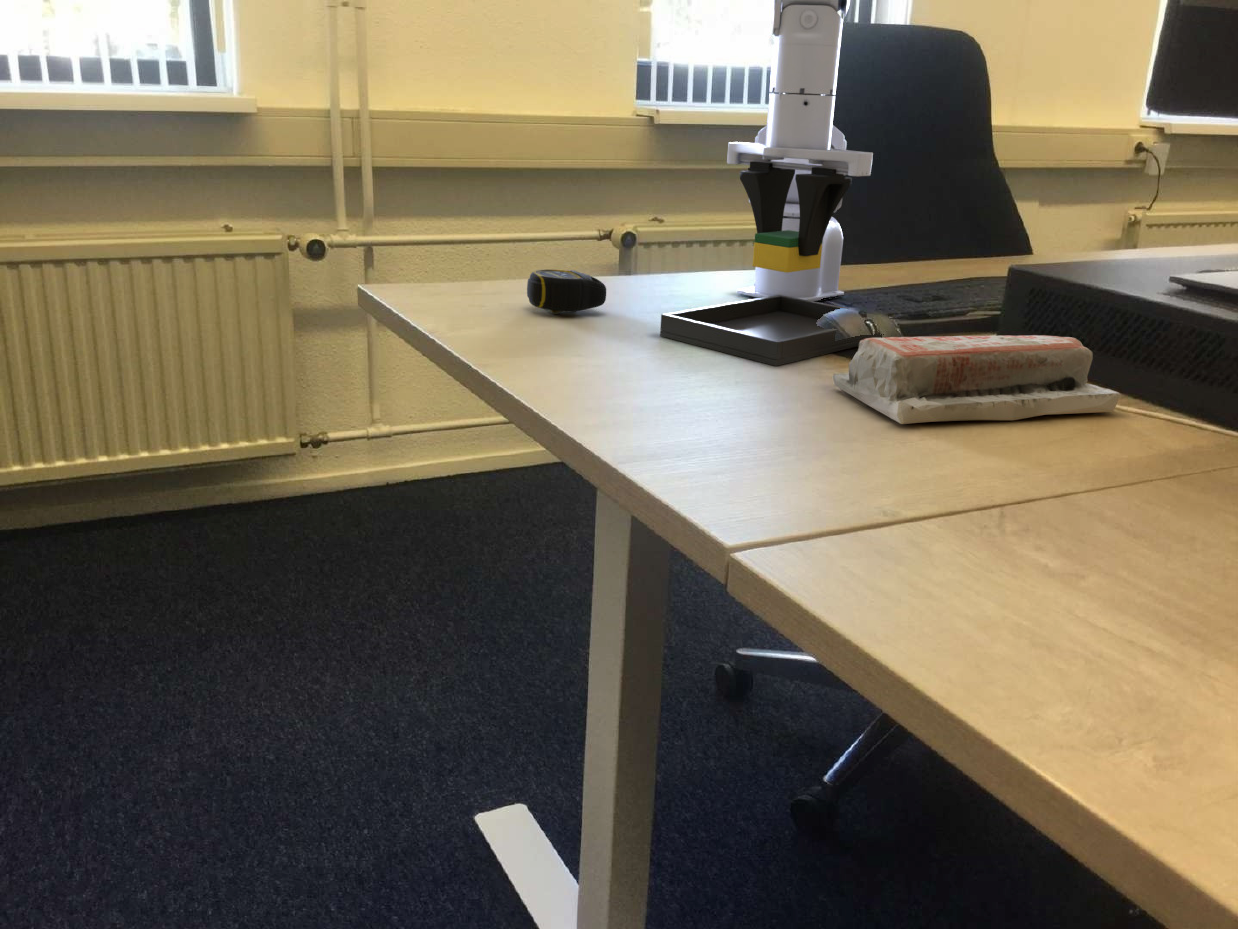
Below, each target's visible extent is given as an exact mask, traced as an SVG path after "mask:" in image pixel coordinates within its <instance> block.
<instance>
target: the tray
mask: <svg viewBox="0 0 1238 929" xmlns="http://www.w3.org/2000/svg"><path fill="white" fill-rule="evenodd" d="M840 308H845V307H844V306H839V305H834V304H828V303H823V302H818V301H809V300H804V299H799V298H794V297H789V296H784V295H775V296H769V297H763V298H757V297H755V298H750V299H745V300H739V301H733V302H726V303H721V304H716V305H710V306H709V305H708V306H703V307H698V308H691V309H684V310H679V311H673V312H666V313H661V314H660V331H659V337H663V338H666V339H671V340H674V341H678V342H682V343H686V344H689V345H693V346H697V347H701V348H705V349H709V350H713V351H717V352H720V353H724V354H728V355H733V356H736V357H739V358H744V359H747V360H751V361H755V362H758V363H762V364H767V365H771V366H774V367H778V366H781V365H782V366H783V365H786V364H789V363H794V362H799V361H802V360H807V359H811V358H815V357H821V356H824V355H828V354H832V353H836V352H840V351H845V350H848V349H853V348H857V347H859V343H860V340H864V339H866V338H881V337H882V334H881V335H879V334H874V335H873V334H872V335H860V336H855V337H851V338H847V339H842V340H838V341H835V334H836V331H837V329H834V328H832V329H824V328H822V327H820V326H817V324H816V322H817V320H818V319H820V318H821V317H822V316H823V314H825V313H828V312H830V311H834V310H835V309H840ZM889 318H890V319H893V320H894V317H893V316H889ZM883 335H884V334H883Z"/></svg>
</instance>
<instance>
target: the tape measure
mask: <svg viewBox="0 0 1238 929" xmlns="http://www.w3.org/2000/svg"><path fill="white" fill-rule="evenodd" d="M526 296H527V298H528V302H529V303H530V304H531V305H532V306H534V307H536V308H539V309H542V310H544V311H545V312H546V313H547V312H548V313H550V314H552V315H557V314H560V313H563V312H569V313H570V312H571V313H572V312H580V311H585V310H591V309H595V308H597V307H601V306H603V305H604V304H605V302H606V301H607V286H606V285H605V283H604V282H602V281H601V280H600V279H597V278H596V277H594V276H591V275H589V274H587V273H584V272H580V271H577V270H574V269H570V270H564V269H539V270H538V269H537V270H533V271H532V272H531V273H530V275H529V278H528V279H527V285H526Z"/></svg>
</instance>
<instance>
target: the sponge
mask: <svg viewBox="0 0 1238 929" xmlns="http://www.w3.org/2000/svg"><path fill="white" fill-rule="evenodd" d="M798 235H799V232H798V231H791V230H786V231H776V232H765V233H757V232H755V234H754V243H753V256H752V267H754V268H756V267H758V268H764V269H769V270H775V271H780V272H786V273H788V272H795V271H802V270H809V269H816V268H820V263H821V253H822V243H823V240H822V243H821V246H820V249H819V252H818V255H812V256H800V255H799V249H798Z"/></svg>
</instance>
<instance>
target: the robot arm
mask: <svg viewBox="0 0 1238 929" xmlns="http://www.w3.org/2000/svg"><path fill="white" fill-rule="evenodd" d="M850 5H851V0H771V6H772V18H773V19H772V33H771V34H772V37H773V39H774V44H773V45H772V54H771V56H772V58H771V68H770V69H771V70H770V79H769V80H770V83H769V95H768V105H767V106H768V107H767V117H766V125H765V126H763V127H762V128H761V129H760V130H759V131H758V132H757V135H756V136H755V137H754V142H743V141H739V142H738V141H733V142H731V141H729V142H728V144H727V156H726V158H727V159H726V164H728V165H746V166H749V167H748V168H747V170H740V171H739V180H740V182H741V184H742V186H743V189H744V190H745V193H746V195H747V198H748V202H749V204H750V206H751V210H752V214H753V219H754V223H755V229H756V233H765V232H776V231H786V230H791V231H798V232H799V235H798V249H799V255H800V256H812V255H818V252H819V249H820V246H821V243H822V240H823V243H822V253H821V263H820V268H816V269H809V270H802V271H795V272H788V273H786V272H780V271H775V270H769V269H764V268H758V267H754V268H755V270H754V282H753V286H749V287H742V288H737V289H736V293H737V294H739V295H744V296H748V297H753V298H763V297H769V296H775V295H784V296H789V297H794V298H799V299H804V300H809V301H814V302H818V301H822V300H821V299H823V298H826V297H830V296H837V295H845V292H844V291H842V290H839V281H840V273H841V265H842V256H843V255H842V254H843V247H844V246H843V245H844V236H843V235H844V234H843V231H842V228H841V225H840V223H839V221H838V220H837V219H836V218H835V217H833V215H834V213H836V212H837V210H839V209H840V208H842V204H843V197H844V196H845V195H846V193H847V192H848V191H849V189H850V187H851V186H852V180H853V178H852V177H870V176H871V174H872V173H871V172H872V165H873V155H874V153H873V152H869V151H859V150H858V151H857V150H849V149H847V143H848V142H847V140H846V139H845V137H846V136H845V135H844V133H843V132H842V131H841V130H840V129H838V128H837V126H835V125H834V124H833V123H834V122H833V121H834V114H835V113H834V112H835V102H836V94H837V93H836V91H837V83H838V73H839V62H840V53H841V44H842V34H843V26H844V25H843V23H844V19H843V17H844V18H846V17H847V13H848V11H849V8H850ZM840 11H841V13H842V14H843V17H842V16H841V15H840V14H839V12H840Z"/></svg>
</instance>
